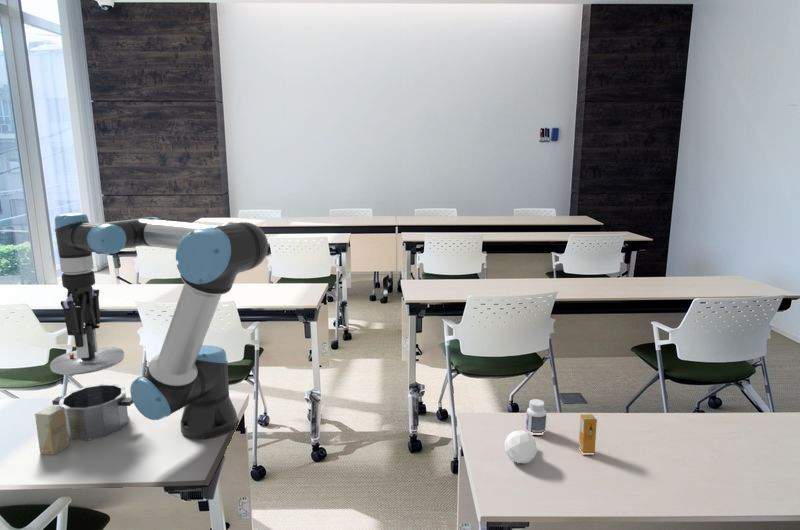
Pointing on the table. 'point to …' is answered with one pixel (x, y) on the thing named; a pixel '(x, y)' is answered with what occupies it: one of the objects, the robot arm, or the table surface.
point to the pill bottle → (536, 416)
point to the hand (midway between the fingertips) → (87, 354)
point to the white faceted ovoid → (520, 446)
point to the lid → (93, 363)
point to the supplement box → (587, 433)
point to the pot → (95, 411)
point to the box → (51, 430)
